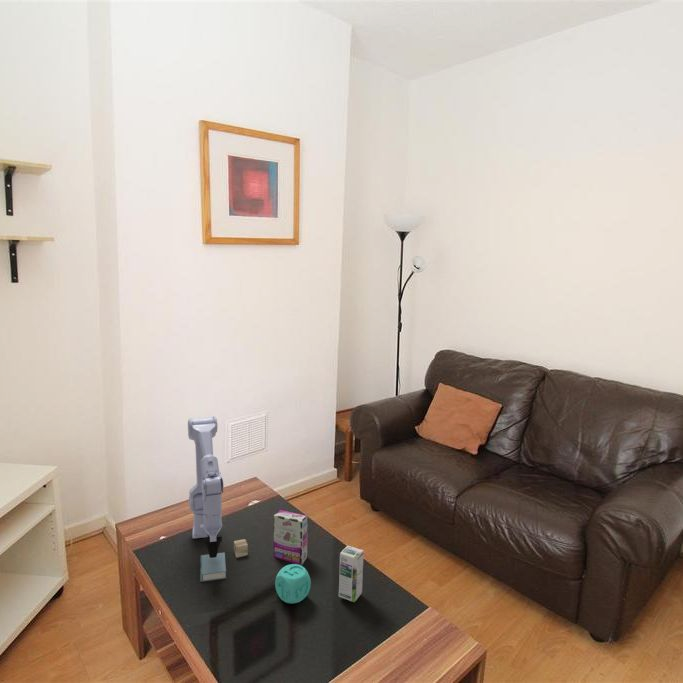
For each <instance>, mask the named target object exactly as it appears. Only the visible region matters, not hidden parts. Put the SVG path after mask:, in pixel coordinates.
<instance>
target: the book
mask: <svg viewBox="0 0 683 683" xmlns="http://www.w3.org/2000/svg"><path fill="white" fill-rule="evenodd" d="M225 555H226V553H225V552H218V553H217V557H214V558H210V557H209V553H207V554H200V565H199V566H200V567H199V568H200V570H199V572H200V574H199V576H200V581H199V582H200V583H202V582H209V581H216V580H224V579H227V567H226V565H227V564H226V556H225Z"/></svg>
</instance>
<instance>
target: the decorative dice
mask: <svg viewBox="0 0 683 683" xmlns="http://www.w3.org/2000/svg"><path fill="white" fill-rule="evenodd" d="M310 576H311V575H310V574H309V572H308V570H307V569H306V568H305V567H304V566H303V565H298V564H295V563H292V564H287V565H285V566H283V567H282V568H280V570H279V571H278V573H277V575H276V577H275V581H274V587H275V591H276V594H277V595H278V598H280V600H281V601H282V602H284V603H287V604H297V603H300V602H301V601H303V600H304V599H306V597H307V596H308V595H309V593H310V589H311V584H312V580H311V577H310Z"/></svg>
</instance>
